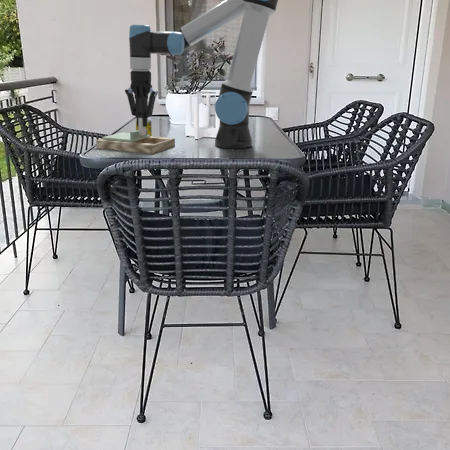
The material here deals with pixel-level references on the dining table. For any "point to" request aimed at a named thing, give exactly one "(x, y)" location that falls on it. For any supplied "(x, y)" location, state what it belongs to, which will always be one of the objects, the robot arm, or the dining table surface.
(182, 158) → the dining table surface
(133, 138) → the cover
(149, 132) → the pill bottle
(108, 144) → the board
